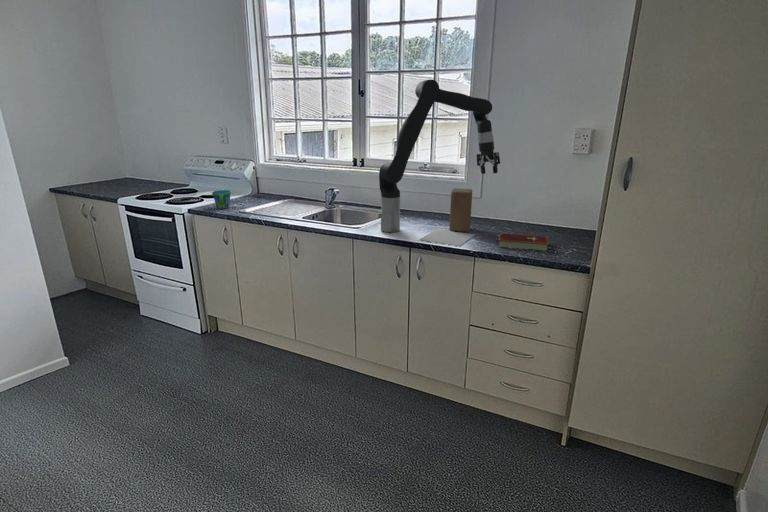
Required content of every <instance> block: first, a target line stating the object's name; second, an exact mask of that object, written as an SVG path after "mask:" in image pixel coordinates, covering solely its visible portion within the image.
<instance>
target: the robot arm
mask: <svg viewBox="0 0 768 512" xmlns="http://www.w3.org/2000/svg"><path fill="white" fill-rule="evenodd" d="M414 91H415V95H416V98H417V100H416V103H415V106H414V107H413V108H412V110H411V111H410V112H409V114H408V115H407V117H406V118H405V119H404V121H403V122H402V125H401V127H400V130H399V131H398V134H397V141H396V142H397V143H396V151H395V154H394V157H393V159H392V161H391V162H385V163H383V164H382V165H381V166H380V169H379V172H378V174H379V175H378V180H379V191H380V196H381V198H380V199H381V201H380V202H381V203H380V204H381V205H380V207H381V208H380V209H381V210H380V211H381V213H380V232H382V231H384V233H389V232H390V234H392V232H393V233H397V231H398V232H399V231H400V230H401V229H400V227H401V224H400V223H401V222H400V221H401V190H400V189H399V188H398V186H397V184H398V183H399V182H400V181H401V180H402V178H403V176H404V174H405V171H406V168H407V165H408V161H409V158H410V156H411V154H412V152H413V149H414V147H415V145H416V142H417V140H418V139H419V136H420V135H421V132H422V128H423V127H424V125H425V121H426V120H427V117H428V114H429V113H430V111H431V108H432V107H433V106H434V103H439V104H442V105H446V106H449V107H453V108H456V109H457V110H458V109H459V110H462V111H466V112H472V116H473V118H474V121H475V123H476V127H477V129H476V130H477V141H478V149H479V151H478V152H480V153H478V154H476V155H475V156H476V165H477V166H479V168H480V173H481V174H482V175H484V174H486V166H485V165H486V163H488V162H489V163H490V164H491V165H492V173H493V174H497V173H498V166H499V165H500V164H501V159H500V153H499V151H495V142H494V141H495V140H494V135H493V128H492V122H491V120H490V119H487V115H489V114H490V113H491V112H492V110H493V103H491V101H490V100H488V99H486V98H485V99H484V98H479V97H474V96H470V95H467V94H464V93H461V92H455V91H449V90H444V89H442V88H440V85H439V83H438V82H437V81H436V80H435V79H426V80H423V81H420V82H419V83H417V85H416V87H415V89H414ZM494 151H495V152H494Z"/></svg>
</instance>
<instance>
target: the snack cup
mask: <svg viewBox="0 0 768 512" xmlns="http://www.w3.org/2000/svg"><path fill="white" fill-rule="evenodd" d="M231 192H232V191H231V190H228V189H227V190H226V189H224V190H223V189H220V190H214V191H212V192H211V194H212V196H213V199H214V203H215V206H216V209H217V208H218V210H227V209H226V208H228V209H230V208H231V207H230V206H231V195H232V193H231Z"/></svg>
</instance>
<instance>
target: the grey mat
mask: <svg viewBox="0 0 768 512" xmlns="http://www.w3.org/2000/svg"><path fill="white" fill-rule="evenodd" d="M474 235H475V234H473V233H468V232H455V231H450V230H444V229H439V228H438V229H434V230H433V231H431V232H430V233H427V234H426V235H424V236H423V237H420V238H419V239H418V241H419V240H421V241H420V242H424V241H429V242H428V243H431V242H435V243H434V244H437V243H442V244H441V245H444V244H448V245H447V246H450V245H455V246H454V247H457V246H460V247H461V246H463V245H465V244H466V243H467V242H468V241H470V239H472V238H474ZM466 241H467V242H466ZM462 244H463V245H462Z"/></svg>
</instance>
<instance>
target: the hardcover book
mask: <svg viewBox="0 0 768 512" xmlns="http://www.w3.org/2000/svg"><path fill="white" fill-rule="evenodd" d="M497 241H498V248H500V247H511V248H525V249H538V250H547V251H548V246H549V245H550V243H549V237H548V236H544V235H543V236H542V235H541V236H540V235H529V234H517V233H516V234H515V233H503V232H499V236H498V240H497ZM511 248H510V249H511Z"/></svg>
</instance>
